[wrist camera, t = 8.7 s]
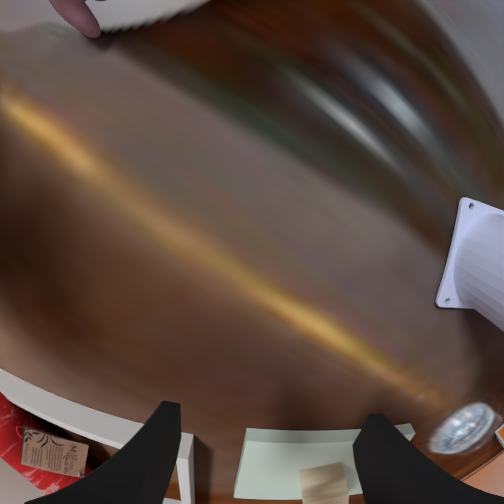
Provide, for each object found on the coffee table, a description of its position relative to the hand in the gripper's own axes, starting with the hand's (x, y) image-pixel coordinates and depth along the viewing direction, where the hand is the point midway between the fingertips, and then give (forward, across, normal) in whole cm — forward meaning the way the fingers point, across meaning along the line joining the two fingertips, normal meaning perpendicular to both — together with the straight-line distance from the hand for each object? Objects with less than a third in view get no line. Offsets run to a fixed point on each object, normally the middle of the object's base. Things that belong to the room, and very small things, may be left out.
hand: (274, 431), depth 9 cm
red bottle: (+9, +20, +22) cm, 31 cm away
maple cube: (+8, -8, +17) cm, 20 cm away
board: (+9, -8, +17) cm, 21 cm away
